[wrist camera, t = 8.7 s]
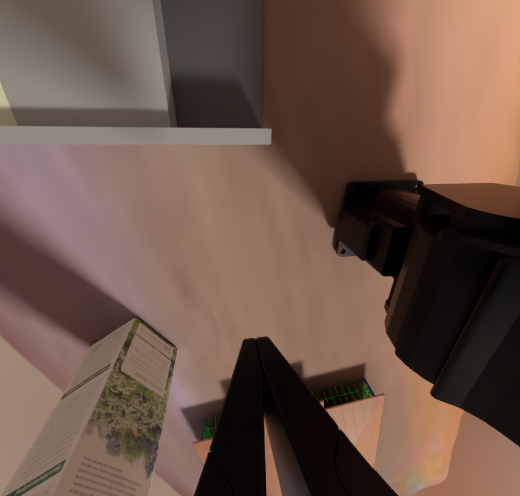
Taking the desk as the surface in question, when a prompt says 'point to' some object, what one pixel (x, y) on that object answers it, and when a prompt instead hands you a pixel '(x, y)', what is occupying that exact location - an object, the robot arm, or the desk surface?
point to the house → (347, 418)
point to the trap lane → (131, 72)
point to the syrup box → (104, 421)
